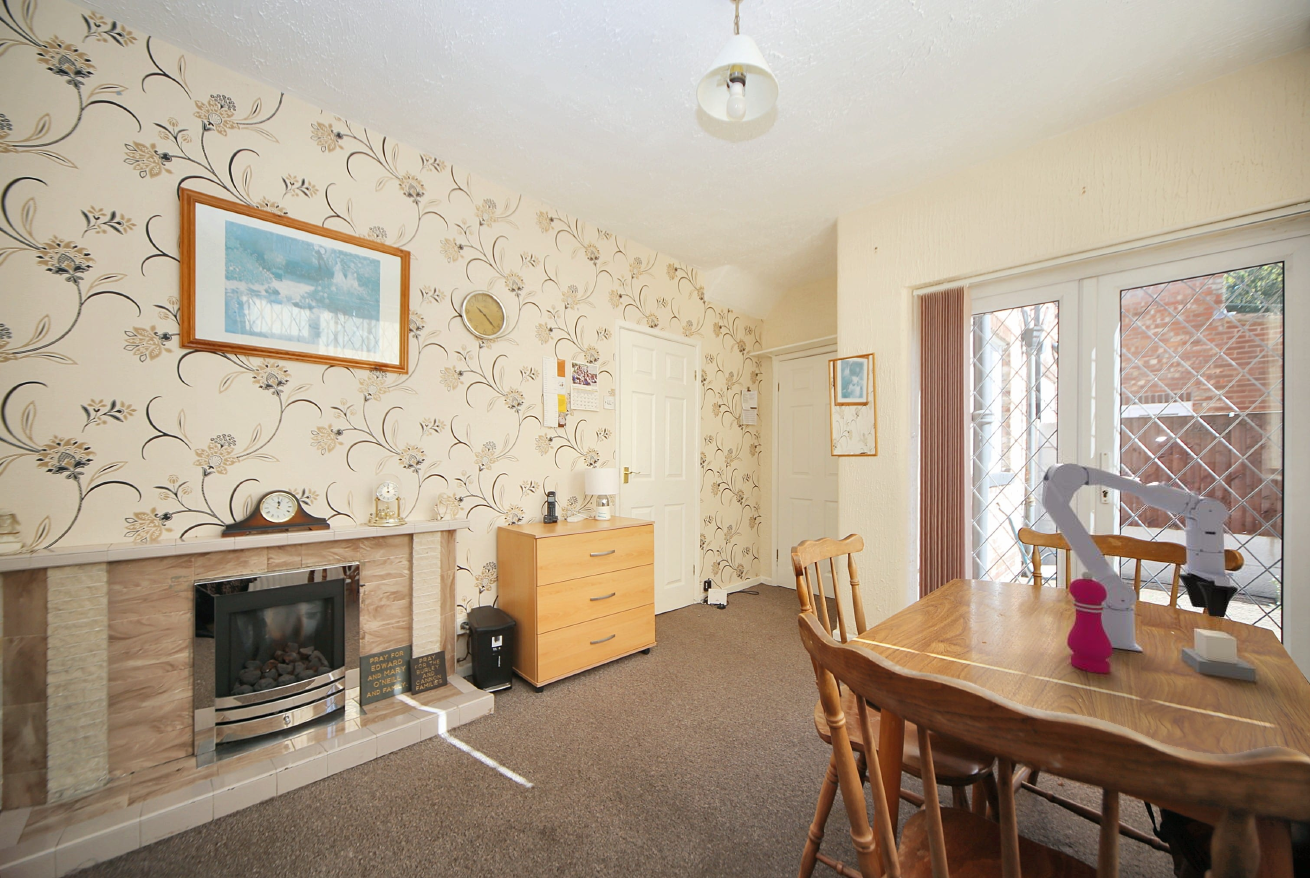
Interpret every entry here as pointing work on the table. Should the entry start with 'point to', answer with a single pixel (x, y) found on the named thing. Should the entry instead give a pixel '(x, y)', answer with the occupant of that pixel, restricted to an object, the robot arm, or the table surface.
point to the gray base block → (1218, 666)
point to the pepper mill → (1089, 626)
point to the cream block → (1215, 646)
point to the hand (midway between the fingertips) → (1207, 611)
